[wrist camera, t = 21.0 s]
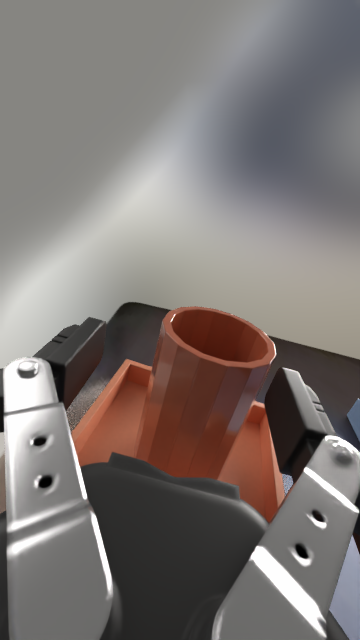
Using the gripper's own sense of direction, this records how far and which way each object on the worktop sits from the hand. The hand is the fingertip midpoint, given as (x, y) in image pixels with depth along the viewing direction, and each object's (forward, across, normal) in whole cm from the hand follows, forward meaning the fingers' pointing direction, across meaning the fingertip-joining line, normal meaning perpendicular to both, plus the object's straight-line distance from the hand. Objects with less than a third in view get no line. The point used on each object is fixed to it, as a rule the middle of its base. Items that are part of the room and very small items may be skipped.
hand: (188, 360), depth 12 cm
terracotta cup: (+3, +1, -11) cm, 11 cm away
